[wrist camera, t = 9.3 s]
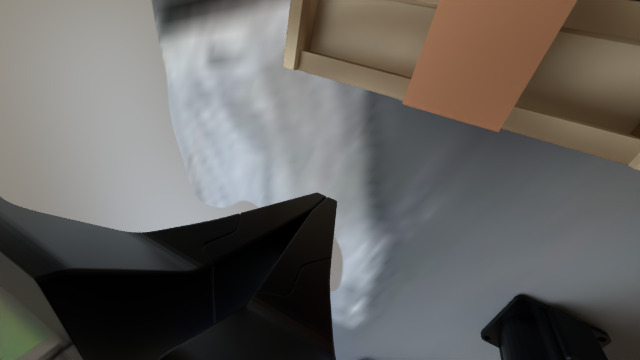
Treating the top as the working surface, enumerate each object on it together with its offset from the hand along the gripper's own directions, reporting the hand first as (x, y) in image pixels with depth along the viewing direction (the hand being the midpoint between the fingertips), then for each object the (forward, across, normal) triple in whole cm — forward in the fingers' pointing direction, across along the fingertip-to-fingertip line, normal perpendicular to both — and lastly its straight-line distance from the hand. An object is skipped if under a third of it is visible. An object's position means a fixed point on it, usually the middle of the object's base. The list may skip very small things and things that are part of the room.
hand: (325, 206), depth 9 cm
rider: (+10, -3, -6) cm, 12 cm away
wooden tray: (+13, -2, -6) cm, 15 cm away
